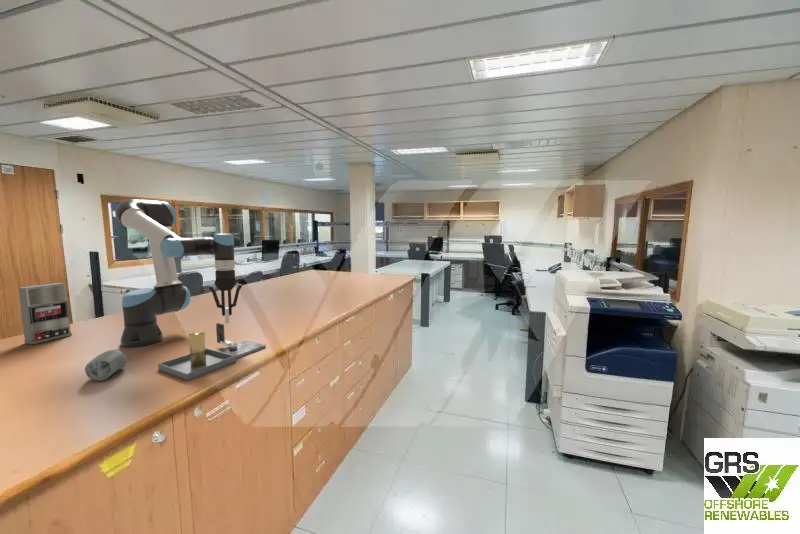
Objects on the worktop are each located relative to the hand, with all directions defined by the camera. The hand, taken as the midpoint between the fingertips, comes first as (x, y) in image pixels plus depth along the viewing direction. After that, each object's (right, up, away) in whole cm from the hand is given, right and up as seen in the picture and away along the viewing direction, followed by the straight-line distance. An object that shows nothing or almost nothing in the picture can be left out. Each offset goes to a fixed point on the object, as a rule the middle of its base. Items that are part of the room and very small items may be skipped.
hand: (227, 322), depth 148 cm
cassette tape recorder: (-84, -9, +6) cm, 85 cm away
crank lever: (+1, -9, -4) cm, 10 cm away
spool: (-27, -14, -29) cm, 42 cm away
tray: (0, -13, -21) cm, 25 cm away
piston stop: (0, -12, -21) cm, 24 cm away
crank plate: (+8, -11, -5) cm, 15 cm away
